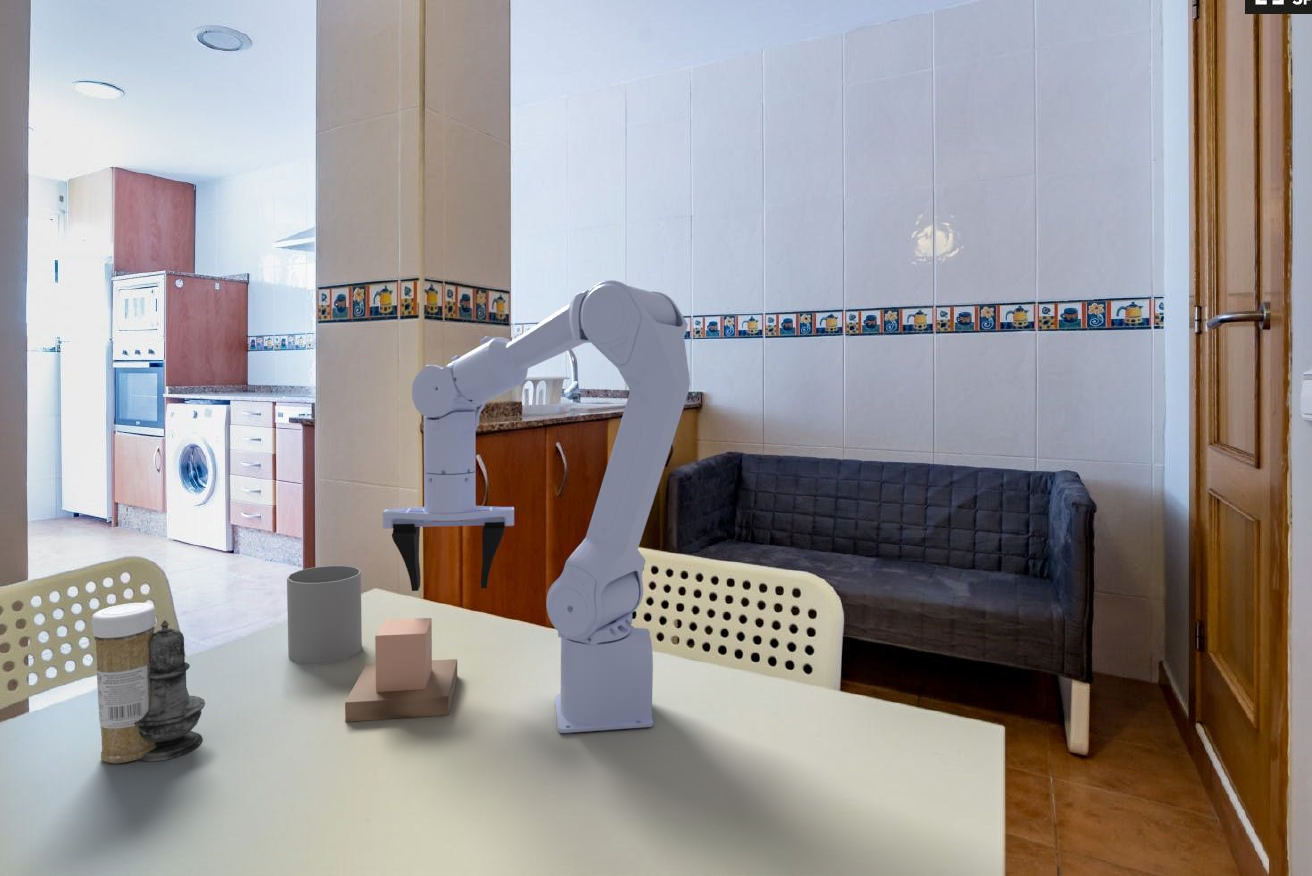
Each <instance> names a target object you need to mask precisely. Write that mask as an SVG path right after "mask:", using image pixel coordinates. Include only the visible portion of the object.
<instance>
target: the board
mask: <svg viewBox="0 0 1312 876" xmlns="http://www.w3.org/2000/svg"><path fill="white" fill-rule="evenodd" d="M456 679H458V659H457V658H454V659H452V658H451V659H435V660H434V659H432V671H431V675H430V678H429V681H428V684H427V688H426V689H418V690H401V691H385V692H376V662H375V663H374V662H373V663H366V664H365V667H364V668H363V670H362V672H361V674H360V675H359V677H358V679H357V680H356V683H355V685H354V686H353V688H352V689H351V691H350V692H349V695H348V697H347V698H346V700H345V702H344V709H345V710H344V714H345V715H344V718H345V720H344V721H345V722H346V723H347V722H359V721H360V722H361V721H375V720H391V719H392V720H393V719H406V718H408V719H409V718H420V717H421V718H423V717H437V716H438V717H439V716H448V715H449V714H450V713H449V712H450V709H451V704H452V700H453V696H454V692H455V688H456V685H457V680H456Z"/></svg>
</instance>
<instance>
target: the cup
mask: <svg viewBox="0 0 1312 876" xmlns="http://www.w3.org/2000/svg"><path fill="white" fill-rule="evenodd" d="M286 594H287V595H286V596H287V597H286V601H287V602H286V603H287V605H286V606H287V638H288V639H287V644H288V645H287V646H288V648H287V650H288V651H287V653H288V658H289V659H290V661H291V662H292V663H296V664H301V665H306V666H307V665H308V666H309V665H311V666H312V665H326V664H331V663H332V664H333V663H337V662H341V661H343V660H347V659H349V658H353V657H354V656H355V654H356V655H357V654H359V653H360V652H361V649H362V647H363V643H362V641H363V639H362V638H363V637H362V635H363V634H362V633H363V632H362V625H363V624H362V570H361V569H360V568H357V567H356V566H348V565H323V566H316V567H310V568H305V569H301V570H296V571H295V572H293V573H290V574H288V576H287V578H286ZM358 652H359V653H358Z"/></svg>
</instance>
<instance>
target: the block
mask: <svg viewBox="0 0 1312 876" xmlns="http://www.w3.org/2000/svg"><path fill="white" fill-rule="evenodd" d="M432 622H433V619H432V617H426V618H425V617H422V618H401V619H400V618H399V619H397V618H396V619H384V620H383V622H382V623H381V625H380V627H379V628H378V629H377V632H376V634H375V636H374V637H375V641H374V643H375V645H374V647H375V663H376V692H385V691H401V690H418V689H426V688H427V684H428V681H429V678H430V675H431V671H432V660H433V657H432V656H433V653H432V652H433V650H432V649H433V642H432V641H433V639H432V637H433V635H432V631H433V629H432V628H433V627H432V625H433V623H432Z"/></svg>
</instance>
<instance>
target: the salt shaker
mask: <svg viewBox="0 0 1312 876" xmlns="http://www.w3.org/2000/svg"><path fill="white" fill-rule="evenodd" d="M169 625H170V623H168V621H167V620H166V619H165V620H163V621H162V623H161V624H160V627H161V628H160V629H159V630H157V631H155V632H154V633H153V635H152V636H151V638H150V640H149V659H150V661H149V662H150V673H149V674H148V676H147V678H149V679H150V704H149V710H148V712H147V713H146V715H145V716H144V717H143V718H142V719H141V720H139V721H137V722H135V723H134V725H137V726H138V731H139V734H140V735H141V737H142V739H144V740H146V741H148V742H156V746H157V747H156V748H155V749H153V750H151V751H149V752H147V753H145V754H144V757H141V758H140V759H137V760H138V761H140V762H161V761H165V760H166V761H167V760H170V759H171V760H172V759H174V758H178V757H180V756H183V755H185V754H187V753H190V752H192V751H193V750H195V749H197V748H198V747H199V746H200V745H201V744H202V742H203V736H202V735H201V733H199V732H197V731H192V730H193V729H194V728H195V727H196V726H197V724H198V723H199V720H200V717H201V716H202V710H203V709H204V708H205V705H206V701H205V699H204V698H202V697H200V696H198V695H197V696H196V695H190V694H189V692H188V687H187V671H188V670H189V669H190V667H191V665H190V663H188V662H186V659H185V657H186V655H185V637H184V634H183V633H182V632H181V631H180V630H178V629H175V628H171V627H169ZM137 760H136V761H137Z"/></svg>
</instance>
